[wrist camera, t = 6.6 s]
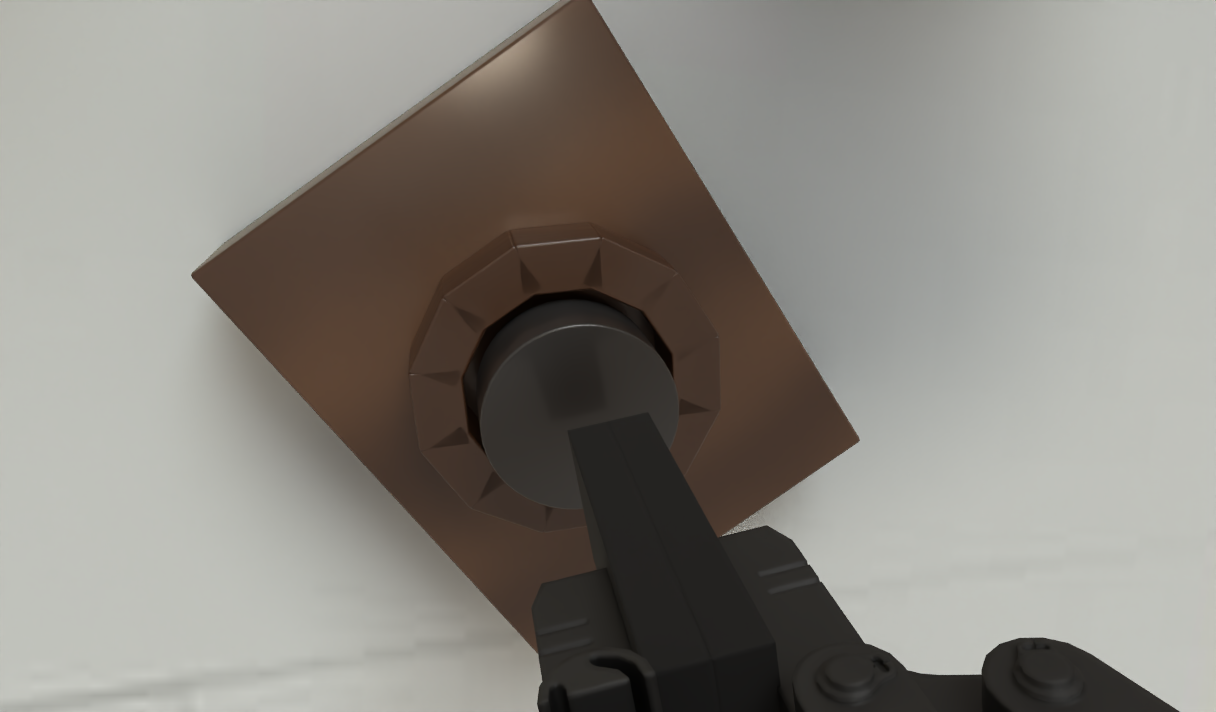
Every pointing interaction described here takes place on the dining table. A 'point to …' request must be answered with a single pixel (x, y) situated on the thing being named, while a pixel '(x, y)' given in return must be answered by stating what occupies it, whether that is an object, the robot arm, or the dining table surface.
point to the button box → (522, 297)
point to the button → (565, 392)
